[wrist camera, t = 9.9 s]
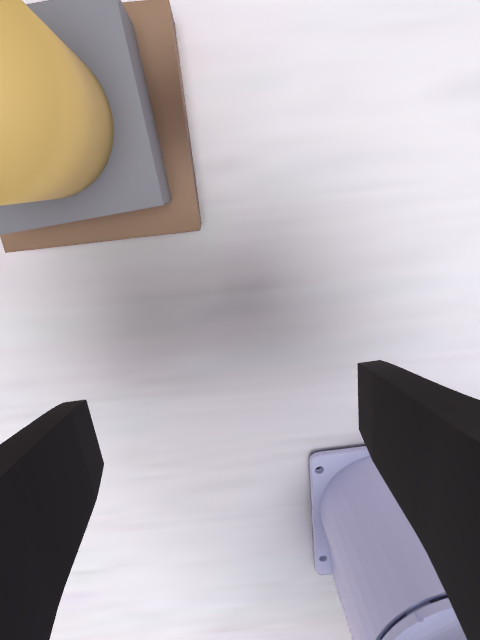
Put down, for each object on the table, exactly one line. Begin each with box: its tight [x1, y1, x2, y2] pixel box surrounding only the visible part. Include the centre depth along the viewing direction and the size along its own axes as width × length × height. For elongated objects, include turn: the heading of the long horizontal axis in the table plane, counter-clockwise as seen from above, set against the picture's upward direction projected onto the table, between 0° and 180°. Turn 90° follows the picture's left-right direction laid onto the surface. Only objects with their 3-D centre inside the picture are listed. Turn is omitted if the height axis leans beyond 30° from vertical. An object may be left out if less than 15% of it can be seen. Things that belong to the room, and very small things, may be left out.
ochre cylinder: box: [0, 0, 114, 206], centre depth 10 cm, size 4×4×5 cm
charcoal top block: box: [0, 0, 172, 235], centre depth 14 cm, size 6×6×3 cm
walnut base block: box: [0, 0, 201, 253], centre depth 17 cm, size 8×8×3 cm
